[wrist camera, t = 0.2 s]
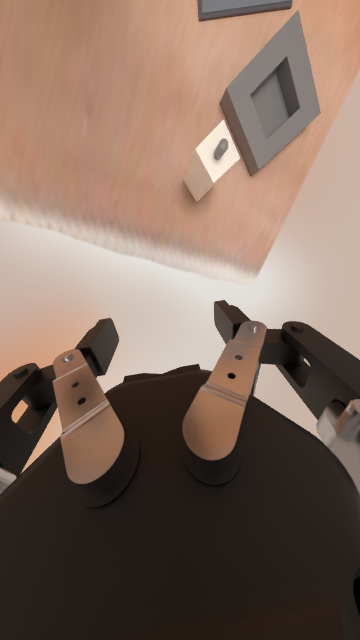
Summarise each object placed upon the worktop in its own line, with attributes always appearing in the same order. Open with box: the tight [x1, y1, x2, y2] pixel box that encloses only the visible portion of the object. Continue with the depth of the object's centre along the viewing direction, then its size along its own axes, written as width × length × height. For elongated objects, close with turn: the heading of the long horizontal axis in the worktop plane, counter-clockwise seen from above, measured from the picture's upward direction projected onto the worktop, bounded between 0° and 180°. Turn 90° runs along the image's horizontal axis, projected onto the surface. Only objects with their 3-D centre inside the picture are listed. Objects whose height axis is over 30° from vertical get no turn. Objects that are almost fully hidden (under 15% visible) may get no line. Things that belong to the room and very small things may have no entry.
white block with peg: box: [184, 120, 240, 202], centre depth 25 cm, size 4×4×14 cm
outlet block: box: [220, 10, 321, 175], centre depth 27 cm, size 12×12×3 cm
